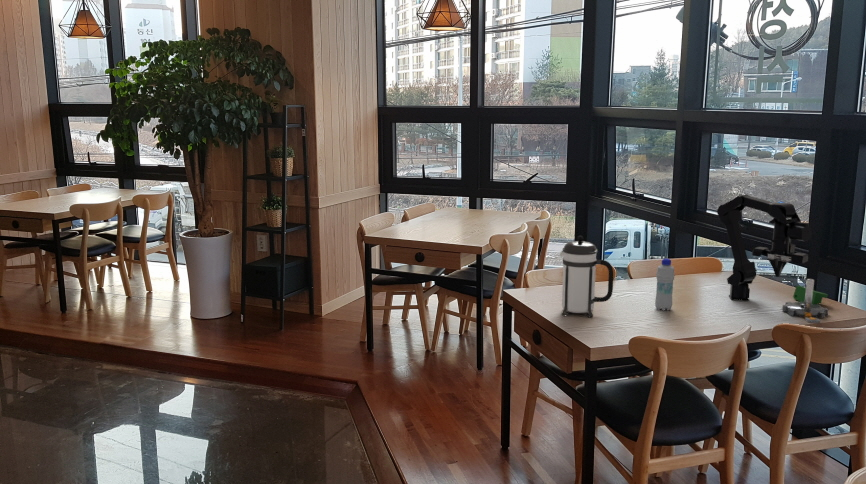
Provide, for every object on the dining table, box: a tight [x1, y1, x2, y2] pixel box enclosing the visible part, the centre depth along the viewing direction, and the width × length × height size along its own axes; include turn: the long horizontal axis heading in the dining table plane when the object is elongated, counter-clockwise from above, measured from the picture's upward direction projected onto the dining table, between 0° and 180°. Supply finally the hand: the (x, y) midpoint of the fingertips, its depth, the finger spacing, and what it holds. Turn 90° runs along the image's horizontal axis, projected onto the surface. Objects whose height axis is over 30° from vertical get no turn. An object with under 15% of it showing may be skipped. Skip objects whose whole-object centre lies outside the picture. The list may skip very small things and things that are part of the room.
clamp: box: [792, 285, 828, 305], centre depth 282 cm, size 12×6×9 cm, turn 6°
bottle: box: [654, 258, 676, 312], centre depth 273 cm, size 7×7×20 cm
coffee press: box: [558, 235, 614, 318], centre depth 269 cm, size 17×16×30 cm
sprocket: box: [781, 278, 829, 319], centre depth 268 cm, size 15×15×14 cm
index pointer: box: [804, 317, 821, 324], centre depth 259 cm, size 4×3×1 cm
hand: (777, 276), depth 272 cm, fingers closed
